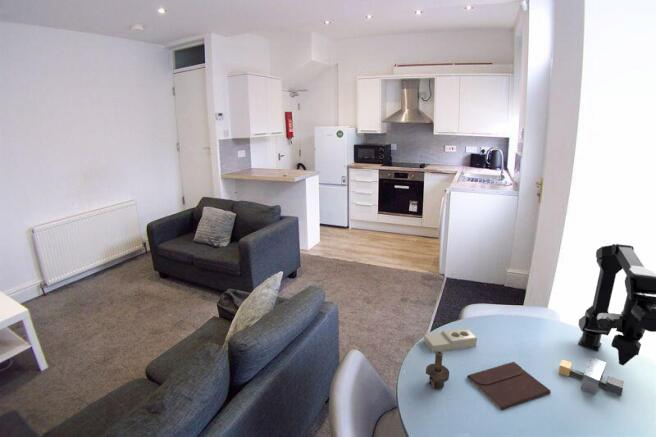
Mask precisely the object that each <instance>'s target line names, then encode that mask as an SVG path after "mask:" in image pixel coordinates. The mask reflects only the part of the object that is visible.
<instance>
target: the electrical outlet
mask: <svg viewBox="0 0 656 437" xmlns="http://www.w3.org/2000/svg"><path fill="white" fill-rule="evenodd" d="M477 341H478V338H477V336H475V335H474V333H473V332H472V331H471V330H469V329H468V327H463V328H456V329H447V330H442V331H441V332H436V333H427V334H426V333H425V334H423V342H424V343H425V344H426V346H427V347H428V348H429V350H430V351H431V353H436V352H437V351H441V352H447V351H450V350H451V351H453V350H460V349H466V348H467V349H469V348H473V347H475V348H476V347H477Z"/></svg>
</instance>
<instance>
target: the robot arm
mask: <svg viewBox="0 0 656 437" xmlns="http://www.w3.org/2000/svg"><path fill="white" fill-rule="evenodd" d="M634 250H635V248H634V246H633V245H631V244H625V243H618V242H617V243H613V244H610V245H604V246H600V247H599V248H597V249H596V253H595V257H596V263H597V265H598V267H599V273H598V278H597V282H596V283H597V284H596V287H595V292H594V293H595V294H594V297H593V301H592V302H593V303H592V304H591V306H590V307H589V308H587V309H586V310H585V313H584V315H583V316H582V317H581V318H579V319H578V327H579V329H580V330H581V332H582V334H581V337H580V339H578V342H577V345H579V346H582V347H585V348H587V349H591V350H593V351H596V352H599V350H600V348H601V346H602V342H601V339H602V335H603V336H609V334H610V333H611V330H612V329H615V332H619V333H618V334H615V335H614V337H613V338H612V342H611V347H612V348H614V349H616V350H617V356H618V364H619V365H621V366H624V365H626V364H628V362H629V361H631V360H632V359H633V358H634V357H636V356H639V354H640V350H641V347H642V344H641V342H640V340H641V339H642V338H643V337H644V334H645V331H647V332H651V333H652V332H653V333H656V273H655V272H654V271H652V270H650V269H648V268H646V267H645V265H644V264H643V263H642V262H641V259H640V258H639V257H638V255H637V254H636V252H635V251H634ZM622 270H623V271H624V273H625V275H626V276H625V278H624V287H625V292H626V294H627V295H626V298H625V302H624V305H623V310H622V311H621V312H620V313H612V312H611V313H610V312H609V308H610V303H611V298H612V294H613V290H614V285H615V281H616V277H617V274H618V273H619V272H621V271H622ZM620 333H621V334H620Z"/></svg>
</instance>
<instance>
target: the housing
mask: <svg viewBox="0 0 656 437" xmlns="http://www.w3.org/2000/svg"><path fill="white" fill-rule="evenodd" d="M606 366H607V362H606V361H603V360H601V359H597V358H596V357H594V356H593V357H591V358H590V360H589V362H588V365H587V367H586V369H585V371H584V372H583V373H584V376H583V380H582V382H581V385H580V390H582V391H585V392H587V393H590V394H592V395H594V396H597V395H596V394H597V393H598V390H599V387H600V386H599V382H600V379H602V380H603V376H604V375H605V374H604V372H605V368H606Z"/></svg>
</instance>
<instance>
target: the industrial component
mask: <svg viewBox="0 0 656 437" xmlns="http://www.w3.org/2000/svg"><path fill="white" fill-rule="evenodd" d="M443 354H444V353H443V351H437V352H435V360H434V363H430V364H428V365H427V366H426V368H425V374H426V375H428V376H429V378H428V383H429V384H428V385H430V388H431V389H432V390H442V389H443V388H444V387H445V382H447V381H448V380H450V379H449V378H450V371H449V369H448V368H447V367H446V366H444V364H443ZM419 385H420V384H419Z"/></svg>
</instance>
